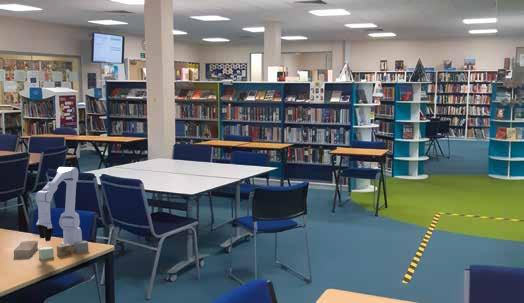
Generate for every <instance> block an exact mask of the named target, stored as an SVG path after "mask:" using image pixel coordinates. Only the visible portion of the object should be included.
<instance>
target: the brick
mask: <svg viewBox="0 0 524 303" xmlns="http://www.w3.org/2000/svg"><path fill="white" fill-rule="evenodd" d="M38 244H39V241H38V240H26V241H21V242H20V243H19V245H18V246H16V247H15V249H14V250H13V258H14V259H20V258H21V259H23V258H24V259H25V258H27V259H28V258H31V257H32V255H33V254H34V253H36V250H37V249H39V248H38Z"/></svg>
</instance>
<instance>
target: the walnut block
mask: <svg viewBox="0 0 524 303" xmlns="http://www.w3.org/2000/svg"><path fill="white" fill-rule="evenodd" d="M56 255H57V256H59V257H64V256H68V255H72V245H70V244H68V243H67V244H58V245H56Z"/></svg>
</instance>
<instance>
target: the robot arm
mask: <svg viewBox="0 0 524 303" xmlns="http://www.w3.org/2000/svg"><path fill="white" fill-rule="evenodd" d="M62 182H65V184H66V186H65V187H66V188H65V204H64V206H65V207H64V211H63V212H62V213H61V214H60V217H59V221H58V224H59V227H60V228H61V230H62V234H63V235H62V236H63V238H62V239H63V241H62V242H60V245H62V244H67V243H68V244H70V245H71V246H74V243H75V242H80V241H83V234H82V233H83V232H82V229H81V227H80V224H81V221H80V220H81V219H80V214H79V213H78V212H76V211H75V210H76V196H77V195H76V193H77V191H76V190H77V183H78V182H79V170H78V169H77V167H76V166H74V167H71V166H70V167H67V166H66V167H65V166H59V167H58V168H57V170H56V175H55V176H54V177H53V179H52V180H51V181H48V182H47V183H46V184H45V186H44V187H43V188H42V189H41V190H39V191H37V192H36V193H35V196H34V198H35V201H36V205H37V208H38V210H37V211H38V219H37V222H36V224H35V228H36V229H37V231H38V234H39V238H40V239H45V242H51V239H52V234H53V231H54V230H55V227H54V226H53V224H52V221H51V220H52V219H51V202H52V201H53V200H52V199H53V197H54V194H55V192H56V191H57V190H58V188H59V187H58V186H59V185H60V184H61V183H62Z"/></svg>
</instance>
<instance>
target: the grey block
mask: <svg viewBox="0 0 524 303" xmlns="http://www.w3.org/2000/svg"><path fill="white" fill-rule="evenodd" d="M73 246H74V247H73V248H74V252H75V253H76V254H79V253H80V254H81V253H85V252H89V241H87V240H82V241H80V242H75V243H74V245H73Z"/></svg>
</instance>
